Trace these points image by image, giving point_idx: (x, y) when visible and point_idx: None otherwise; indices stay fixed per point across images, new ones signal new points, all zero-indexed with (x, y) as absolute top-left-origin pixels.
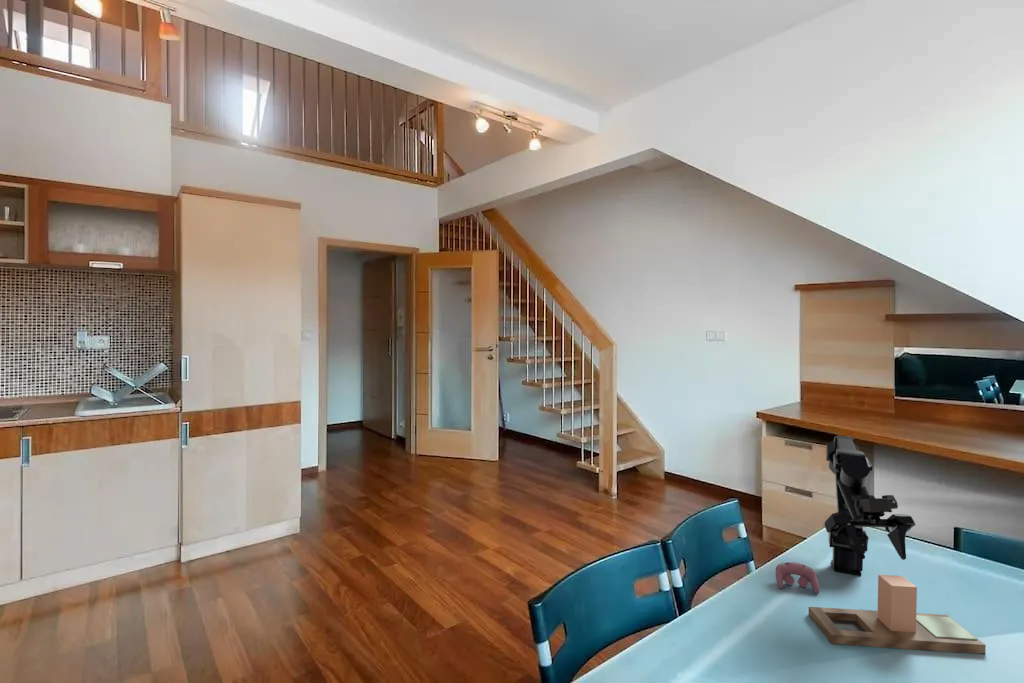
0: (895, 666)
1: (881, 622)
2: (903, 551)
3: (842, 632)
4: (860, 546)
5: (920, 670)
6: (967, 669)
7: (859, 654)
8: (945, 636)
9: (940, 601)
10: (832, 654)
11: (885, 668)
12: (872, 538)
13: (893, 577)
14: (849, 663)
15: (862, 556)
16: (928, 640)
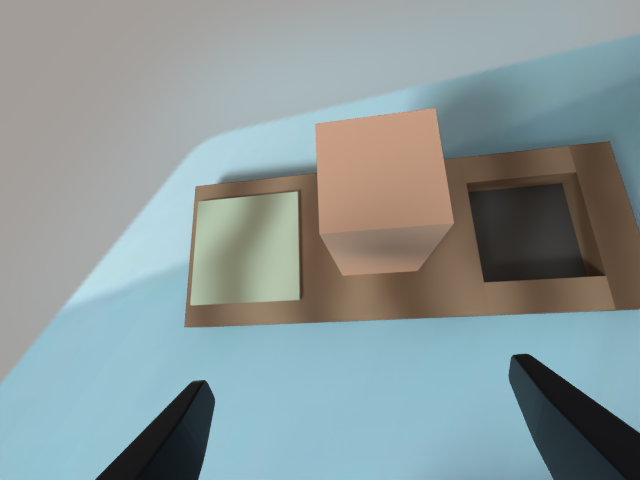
0: (448, 103)
1: None
2: (169, 420)
3: (570, 159)
4: (594, 430)
5: (395, 103)
6: (288, 131)
7: (522, 128)
8: (272, 196)
9: None
10: (599, 111)
11: (476, 90)
12: None
13: (378, 205)
14: (562, 87)
15: (536, 365)
16: None
